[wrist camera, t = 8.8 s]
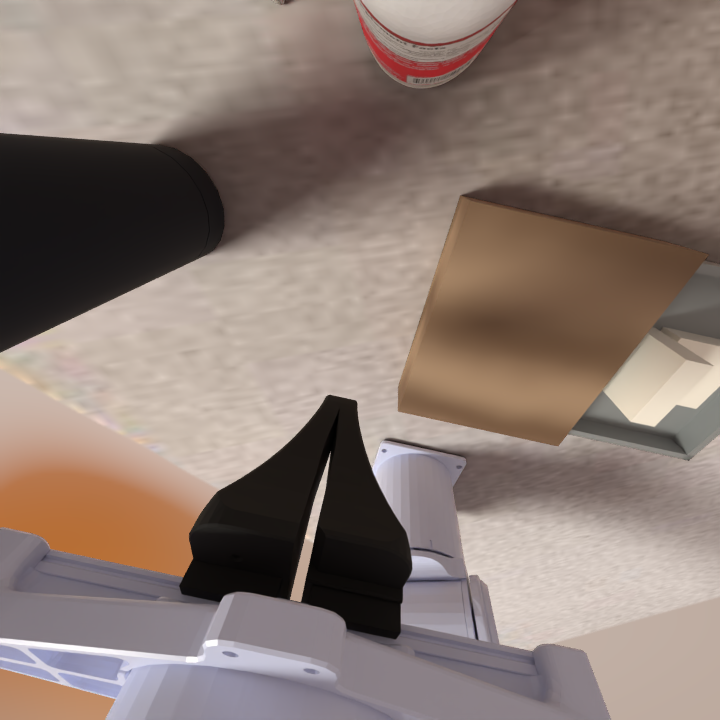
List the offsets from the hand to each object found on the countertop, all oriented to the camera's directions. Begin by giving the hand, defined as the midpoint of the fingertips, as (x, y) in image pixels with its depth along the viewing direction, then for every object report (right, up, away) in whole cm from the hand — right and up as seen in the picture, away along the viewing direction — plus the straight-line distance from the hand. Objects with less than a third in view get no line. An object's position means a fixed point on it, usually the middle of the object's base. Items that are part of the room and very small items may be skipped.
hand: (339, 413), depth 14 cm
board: (+11, +5, +7) cm, 14 cm away
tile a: (+18, +2, +5) cm, 19 cm away
